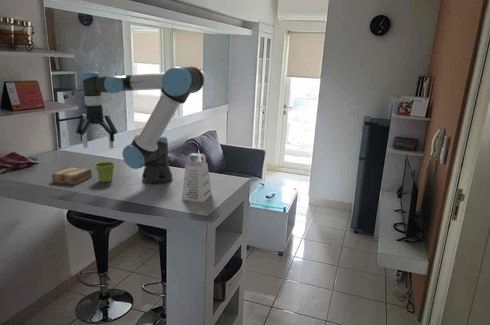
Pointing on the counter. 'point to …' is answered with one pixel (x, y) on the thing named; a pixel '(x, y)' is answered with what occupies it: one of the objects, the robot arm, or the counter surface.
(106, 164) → the plant pot
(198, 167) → the grater
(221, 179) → the counter surface
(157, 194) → the counter surface
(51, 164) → the counter surface
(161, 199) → the counter surface
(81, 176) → the tan flat square block
